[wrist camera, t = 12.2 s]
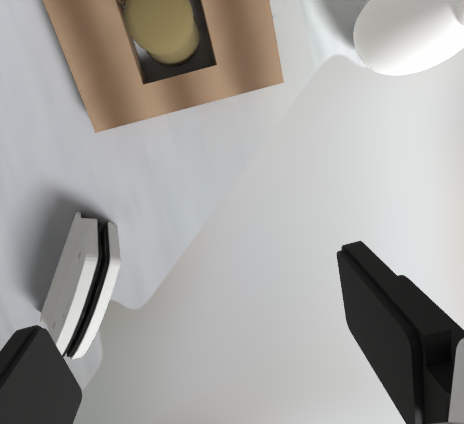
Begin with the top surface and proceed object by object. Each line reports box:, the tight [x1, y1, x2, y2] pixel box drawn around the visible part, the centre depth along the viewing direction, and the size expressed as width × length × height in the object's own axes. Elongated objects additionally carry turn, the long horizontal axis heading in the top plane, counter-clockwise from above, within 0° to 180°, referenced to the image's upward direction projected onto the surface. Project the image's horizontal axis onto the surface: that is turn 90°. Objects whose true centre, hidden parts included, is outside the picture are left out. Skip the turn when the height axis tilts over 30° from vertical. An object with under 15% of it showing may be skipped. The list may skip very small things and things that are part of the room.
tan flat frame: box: [43, 0, 284, 133], centre depth 33 cm, size 20×14×3 cm
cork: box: [125, 0, 200, 67], centre depth 29 cm, size 6×6×11 cm
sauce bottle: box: [353, 0, 464, 75], centre depth 28 cm, size 8×8×18 cm
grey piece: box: [40, 212, 121, 359], centre depth 40 cm, size 17×5×10 cm, turn 154°
